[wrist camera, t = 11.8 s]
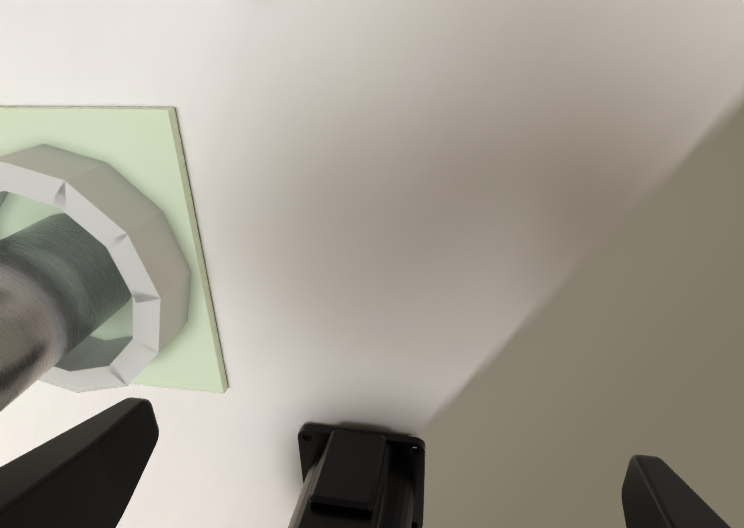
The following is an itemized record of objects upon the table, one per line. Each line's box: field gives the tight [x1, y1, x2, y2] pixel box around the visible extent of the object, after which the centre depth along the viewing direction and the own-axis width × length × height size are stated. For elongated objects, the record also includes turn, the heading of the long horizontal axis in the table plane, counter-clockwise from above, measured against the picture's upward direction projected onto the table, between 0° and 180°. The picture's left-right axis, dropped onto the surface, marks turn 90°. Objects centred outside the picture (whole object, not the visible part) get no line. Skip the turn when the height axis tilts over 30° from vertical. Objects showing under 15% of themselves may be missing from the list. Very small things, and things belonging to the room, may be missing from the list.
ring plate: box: [0, 106, 228, 394], centre depth 23 cm, size 14×12×3 cm
